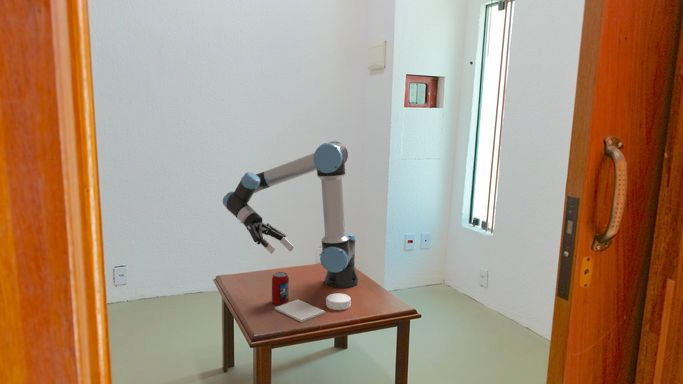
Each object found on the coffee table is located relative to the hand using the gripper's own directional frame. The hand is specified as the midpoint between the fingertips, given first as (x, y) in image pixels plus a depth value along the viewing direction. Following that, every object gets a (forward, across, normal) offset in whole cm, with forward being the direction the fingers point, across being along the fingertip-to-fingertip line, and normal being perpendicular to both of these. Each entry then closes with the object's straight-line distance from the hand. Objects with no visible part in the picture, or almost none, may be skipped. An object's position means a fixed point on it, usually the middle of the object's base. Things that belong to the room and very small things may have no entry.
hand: (283, 250), depth 200 cm
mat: (+23, +4, -12) cm, 26 cm away
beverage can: (+12, +1, -18) cm, 21 cm away
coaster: (+30, -9, -5) cm, 32 cm away
